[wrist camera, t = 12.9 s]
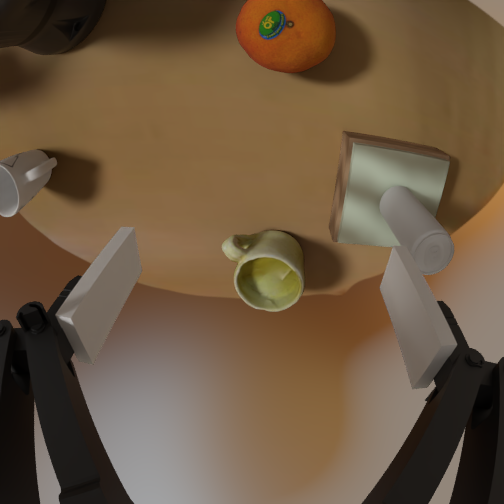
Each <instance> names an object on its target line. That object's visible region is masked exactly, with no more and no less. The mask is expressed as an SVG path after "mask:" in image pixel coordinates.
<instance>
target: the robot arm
mask: <svg viewBox="0 0 504 504" xmlns="http://www.w3.org/2000/svg"><path fill="white" fill-rule="evenodd" d="M105 2H106V0H0V48H3V47H10V46H19V47H22V48H24V49H26V50H29V51H31V52H33V53H36V54H40V55H51V54H59V53H63V52H66V51H68V50H70V49H72V48H73V47H75V46H76V45H78V44H79V43H80V42H81V41H83V40H84V39H85V38H86V37H87V36H88V34H89V33H90V32H91V31H92V29H93V28H94V27H95V25H96V23H97V22H98V20H99V18H100V16H101V14H102V11H103V9H104V6H105ZM141 272H142V267H141V262H140V257H139V252H138V246H137V241H136V235H135V229H134V227H121V228H120V229H119V230H118V231H117V233H116V234H115V235H114V236H113V238H112V239H111V240H110V241H109V243H108V244H107V245H106V246H105V248H104V249H103V250H102V251H101V253H100V254H99V255H98V256H97V258H96V259H95V260H94V262H93V263H92V264H91V266H90V267H89V268H88V270H87V271H86V272H85V274H84V275H83V276H76V277H75V278H74V279H72V280H71V281H69V283H68V284H67V285H66V287H65V288H64V291H62V292H61V293H60V295H59V297H57V299H56V300H55V302H54V303H53V305H52V306H51V307H50V309H49V310H48V312H47V313H46V311H45V309H44V307H43V305H42V303H40V302H36V301H34V302H29V303H27V304H25V305H24V306H22V307H21V308H20V309H19V311H18V313H17V316H16V318H17V320H18V322H19V324H20V325H21V327H22V328H13V326H12V325H11V323H10V321H8V320H1V321H0V504H40V498H39V491H38V484H37V473H36V461H35V443H34V399H35V403H36V408H37V412H38V416H39V420H40V424H41V428H42V432H43V435H44V439H45V443H46V446H47V449H48V452H49V455H50V459H51V462H52V465H53V468H54V470H55V473H56V476H57V479H58V481H59V484H60V487H61V493H60V495H59V502H60V504H134V503H133V501H132V500H131V499H130V497H129V496H128V494H127V493H126V491H125V489H124V487H123V485H122V483H121V481H120V479H119V477H118V475H117V474H116V471H115V469H114V468H113V466H112V463H111V461H110V459H109V457H108V455H107V453H106V450H105V448H104V446H103V444H102V442H101V439H100V437H99V435H98V432H97V430H96V427H95V425H94V422H93V420H92V417H91V415H90V412H89V409H88V407H87V404H86V401H85V399H84V396H83V393H82V390H81V387H80V384H79V381H78V378H77V374H76V371H75V368H74V365H73V362H72V361H71V357H72V355H73V353H75V355H76V357H77V359H78V360H79V361H81V362H84V363H88V364H94V363H95V360H96V358H97V356H98V354H99V352H100V350H101V348H102V346H103V344H104V342H105V340H106V338H107V336H108V334H109V332H110V330H111V328H112V326H113V324H114V322H115V320H116V318H117V316H118V315H119V313H120V311H121V309H122V307H123V305H124V303H125V301H126V299H127V298H128V296H129V294H130V292H131V290H132V289H133V287H134V285H135V283H136V281H137V280H138V278H139V276H140V274H141ZM380 290H381V293H382V296H383V298H384V301H385V304H386V307H387V309H388V313H389V315H390V318H391V321H392V324H393V327H394V330H395V333H396V336H397V339H398V342H399V346H400V349H401V352H402V355H403V359H404V362H405V365H406V368H407V372H408V376H409V379H410V383H411V386H412V389H418V388H427V387H428V386H429V385H430V383H431V382H432V381H433V379H434V382H435V385H436V387H435V389H434V390H433V391H432V392H431V393H430V395H429V396H428V397H427V398H426V400H425V401H427V403H426V405H425V407H424V409H423V411H422V412H421V414H420V416H419V418H418V420H417V422H416V423H415V425H414V427H413V429H412V430H411V432H410V434H409V435H408V437H407V439H406V440H405V442H404V444H403V445H402V447H401V449H400V450H399V452H398V453H397V455H396V457H395V458H394V460H393V461H392V463H391V464H390V466H389V467H388V469H387V470H386V471H385V473H384V474H383V476H382V477H381V479H380V480H379V482H378V483H377V484H376V486H375V487H374V488H373V490H372V491H371V492H370V493H369V495H368V496H367V498H366V499H365V500H364V501H363V503H362V504H428V503H429V501H430V500H431V498H432V496H433V495H434V493H435V491H436V489H437V487H438V485H439V484H440V482H441V480H442V478H443V476H444V474H445V472H446V470H447V468H448V466H449V463H450V462H451V459H452V457H453V455H454V453H455V451H456V449H457V446H458V444H459V441H460V439H461V437H462V434H463V432H464V429H465V434H464V441H463V447H462V452H461V457H460V463H459V467H458V472H457V476H456V481H455V485H454V488H453V492H452V496H451V500H450V503H449V504H504V357H502V358H501V359H500V361H499V362H498V364H496V363H491V362H487V361H485V360H484V358H483V356H482V355H481V354H480V353H479V352H478V351H476V350H475V349H472V348H469V346H468V344H467V342H466V340H465V337H464V335H463V333H462V331H461V329H460V327H459V326H458V325H457V324H458V323H457V321H456V319H455V318H454V315H453V313H452V312H451V310H450V308H449V307H448V306H447V305H446V304H445V303H444V302H443V301H436V299H435V297H434V295H433V293H432V291H431V289H430V288H429V286H428V284H427V282H426V280H425V278H424V276H423V275H422V273H421V271H420V269H419V267H418V266H417V264H416V262H415V260H414V259H413V257H412V255H411V254H410V252H409V250H408V248H407V247H406V246H395V245H393V248H392V251H391V255H390V258H389V261H388V264H387V267H386V271H385V274H384V277H383V280H382V283H381V285H380ZM465 427H466V428H465Z"/></svg>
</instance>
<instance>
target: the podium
mask: <svg viewBox="0 0 504 504" xmlns="http://www.w3.org/2000/svg"><path fill="white" fill-rule="evenodd" d="M449 160H450V156H448V155H447V154H445V153H444V152H442V151H441V150H439V149H437V148H434V147H429V146H425V145H420V144H416V143H411V142H406V141H401V140H396V139H390V138H385V137H379V136H373V135H367V134H360V133H354V132H346V131H343V135H342V143H341V151H340V158H339V166H338V173H337V180H336V186H335V193H334V199H333V205H332V212H331V217H330V223H329V230H330V233H331V237H332V240H333V242H338V243H348V244H361V245H373V246H385V247H393V245H395V246H401V245H400V243H399V242H398V240H397V238H396V237H395V235H394V233H393V232H392V230H391V229H390V227H389V225H388V224H387V222H386V220H385V219H384V217H383V216H382V214H381V212H380V208H379V206H380V201H381V198H382V196H383V194H384V193H385V192H386V191H387V190H388V189H389V188H391V187H394V186H403V187H406V188H407V189H408V190H409V191H410V192H411V193H412V194H413V195H414V196H415V197H416V198H417V199H418V200H419V201H420V202H421V204H422V205H423V206H424V207H425V208H426V209H427V210H428V211H429V212H430V213H431V214H432V216H433V217H434V218H435V217H436V213H437V210H438V206H439V203H440V199H441V196H442V192H443V188H444V184H445V181H446V177H447V172H448V168H449V164H450V162H449Z"/></svg>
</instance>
